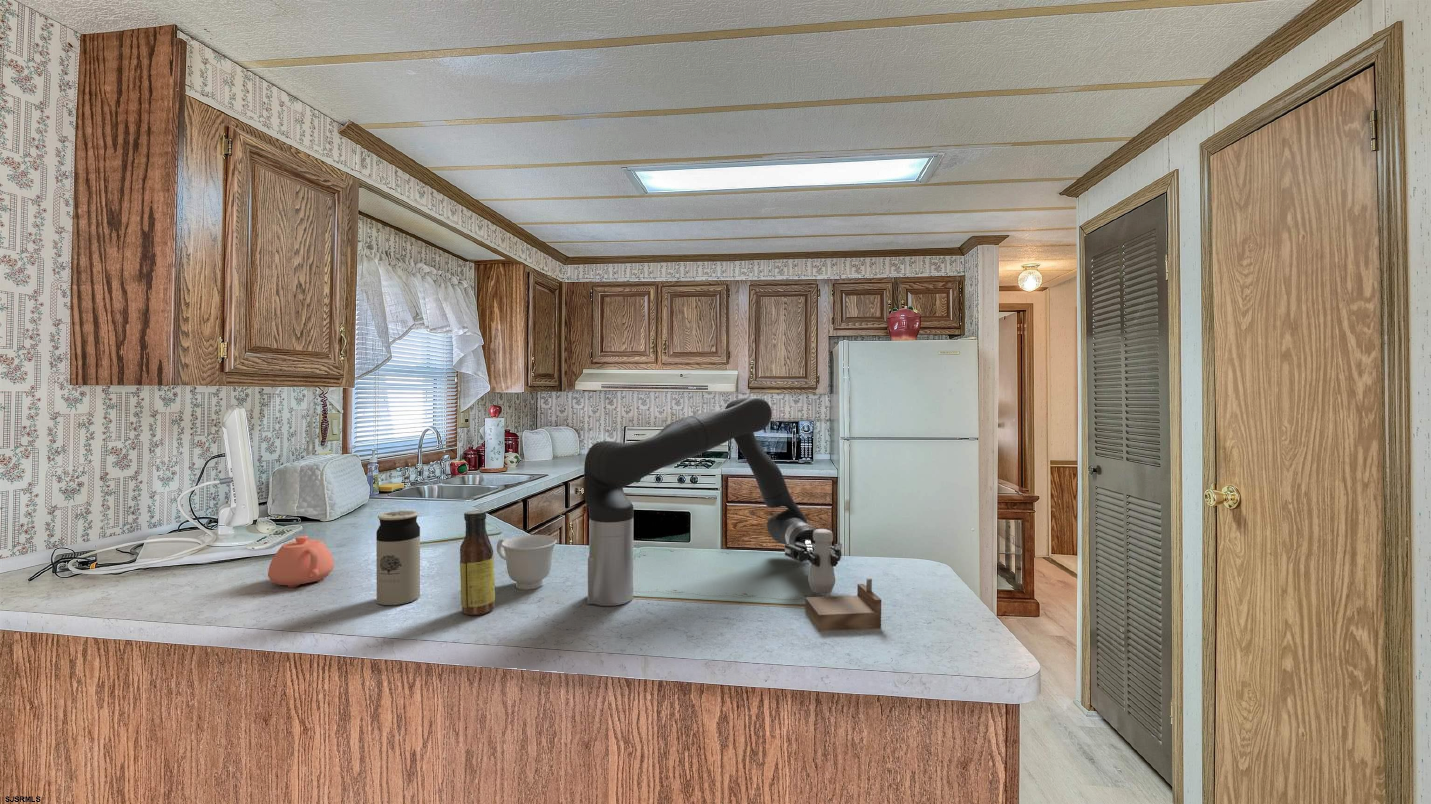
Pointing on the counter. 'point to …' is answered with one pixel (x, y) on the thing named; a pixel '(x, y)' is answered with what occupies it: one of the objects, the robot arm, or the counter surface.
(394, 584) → the travel mug
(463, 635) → the counter surface
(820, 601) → the wooden stand
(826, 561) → the salt shaker
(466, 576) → the sauce bottle
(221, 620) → the counter surface
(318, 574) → the sugar bowl
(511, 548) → the teacup
